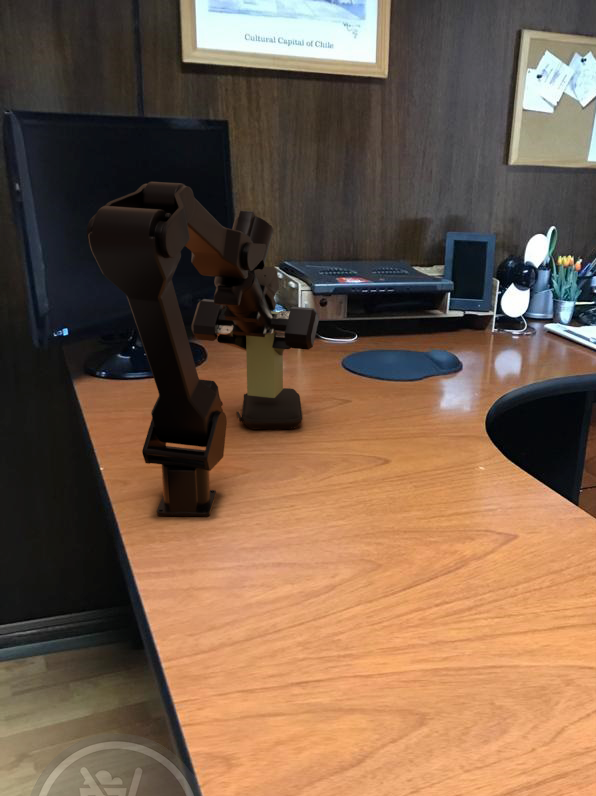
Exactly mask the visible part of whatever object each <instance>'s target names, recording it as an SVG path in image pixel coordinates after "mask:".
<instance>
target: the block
mask: <svg viewBox="0 0 596 796" xmlns="http://www.w3.org/2000/svg"><path fill="white" fill-rule="evenodd" d="M278 312H279V311H275V310H271V314H278ZM274 337H275V333H274V332H273V334H272V335H268V334H265V337H256V336H246V351H245V353H246V354H245V355H246V356H245V357H246V393H247V395H249V396H259V397H269V398H275V397H276V396H277V395H278V394H279V393H280V392H281V391H282V390H283V388H284V354H283V355H279V354H278V353H277V352H276V351H275V350H274V349H273V348H272V345H273V341H274Z"/></svg>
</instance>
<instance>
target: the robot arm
mask: <svg viewBox="0 0 596 796" xmlns="http://www.w3.org/2000/svg"><path fill="white" fill-rule="evenodd" d="M273 234H274V228H273V226H272V225H271V224H270V223H269V222H267V220H265V219H263V218H261V217H259V216H256V215H255V212H254V211H252V210H240V211H239V213H238V216H237V217H236V218H235V219H234V221H233V224H232V228H228V227H226V226H223V225H222V224H221V223H220V222H219V221H218V220H217V219H216V218H215V217H214V216H213V215H212V214H211V213H210V212H209V211H208V210H207V209H206V208H205V206H203V205H202V204H201V203H200V201H198V200H197V199H196V198H195V195H194V192H193V189H192V188H191V186H188V185H186V184H184V183H179V182H166V181H165V182H161V181H149V182H148V183H144V184H142V185H141V186H140V187H138V188H137V190H135V191H134V192H131V193H128V194H126V195H124V196H120V197H117V198H115V199H113V200H111V201H109V202H107V203H105V205H103V206H102V207H100V208H99V209H98V210H97V211H96V213H95V214H94V215H93V216H92V217H91V218H90V219H89V221H88V223H87V226H86V239H87V243H88V246H89V248H90V250H91V253H92V255H93V257H94V259H95V261H96V263H97V265H98V268H99V269H100V271H101V273H102V275H103V276H104V277H105V278H106V279H107V280H109V282H111V283H112V284H113V285H114V286H115V287H117V289H119V290H120V291H121V292H122V293H123V294H125V296H126V299H127V302H128V305H129V307H130V310H131V313H132V316H133V320H134V323H135V325H136V328H137V331H138V335H139V338H140V340H141V344H142V347H143V350H144V352H145V355H146V359H147V361H148V364H149V367H150V371H151V374H152V376H153V380H154V383H155V386H156V390H157V393H158V397H157V399H156V401H155V403H154V405H153V408H152V409H151V413H150V414H151V420H150V424H149V427H148V431H147V434H146V437H145V440H144V443H143V447H142V449H141V453H142V456H143V460H144V463H145V464H148V465H150V464H154V465H161V476H162V477H161V478H162V492H163V494H162V498H161V500H160V502H159V505H158V507H157V509H156V515H157V516H160V517H161V516H163V517H164V516H169V517H171V516H172V517H173V516H175V517H177V516H179V517H181V516H182V517H184V516H185V517H209V516H210V515H211V513H212V509H213V507H214V503H215V500H216V497H217V491H216V490H215V489H214V490H213V489H211V487H210V484H211V483H210V472H211V471H212V470H213V469H214V468H215V467H216V466H217V464H218V463H219V462H221V460H222V459H223V458H224V454H225V446H226V445H225V443H226V435H227V423H228V422H227V419H228V418H227V415H226V413H225V412H224V410H223V406H224V403H223V401H222V399H221V396H220V392H219V386H218V384H217V382H215V380H209V379H200V377H199V375H198V371H197V367H196V363H195V360H194V356H193V353H192V349H191V345H190V341H189V337H188V335H187V331H186V327H185V323H184V320H183V316H182V313H181V309H180V304H179V301H178V297H177V293H176V289H175V287H174V283H173V282H174V281H173V277H174V275H175V272H176V270H177V268H178V265H179V263H180V260H181V258H182V250H183V249H184V248H185V247H186V248H187V249H188V250H189V251H190V252H191V260H190V262H191V264H192V265H193V266H194V268H195V269H196V270H197V272H198V273H199V274H200V276H201V275H202V276H205V277H206V276H207V277H214V279H213V280H214V286H215V291H214V294H213V299H206V298H203V299H202V300H200V301H199V302H198V303H197V304H196V309H195V312H194V315H193V319H192V322H191V326H190V327H191V332H192V334H193V336H194V337H195V338H196V340H198V341H208V342H214V341H216V340H217V343H219V344H223V345H226V346H230V347H234V348H236V349H240V350H242V351H245V352H246V336H256V337H265V334H268V335H272V334H273V332H274V333H275V337H274V341H273V345H272V348H273V349H274V350H275V351H276V352H277V353H278V354H279V355H283V356H284V351H285V350H290V349H297V350H298V349H299V350H308V351H309V350H310V349H313V347H314V344H315V338H316V335H317V330H318V325H319V321H320V317H319V313H318V311H317V310H316V308H314V307H303V306H302V307H301V306H291V307H290V309H289V310H280V311H277V312H278V314H271V311H275V310H276V307H277V302H276V299H275V296H276V294H277V292H278V290H279V289H280V283H279V276H278V269H277V268H276V267H274V266H265V265H266V260H267V257H268V253H269V249H270V245H271V241H272V237H273ZM223 310H225V311H224V313H223ZM167 444H172V445H173V444H174V445H184V446H193V447H201V448H205V449H197V448H188V447H180V446H179V447H178V446H171V445H167Z"/></svg>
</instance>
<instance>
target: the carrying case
mask: <svg viewBox="0 0 596 796" xmlns="http://www.w3.org/2000/svg"><path fill="white" fill-rule="evenodd" d="M235 416H236V418H237V420H238V421H239V422H240V423H243V424H245V426H246V427H247V428H249V429H252V430H280V429H281V430H291V429H293V430H294V429H296V428H297V427H299V425H300V424H302V422H303V411H302V403H301V395H300V394H299V393H298V392H297V391H296V389H294V388H290V387H285V388H284V387H283V390H282V391H281V392H280V393H279V394H278V395H277V396H276V397H275V398H269V397H259V396H249V395H247V392H246V393H243V402H242V410H241V413H240V412H239V411H238V410H236V412H235Z"/></svg>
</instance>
